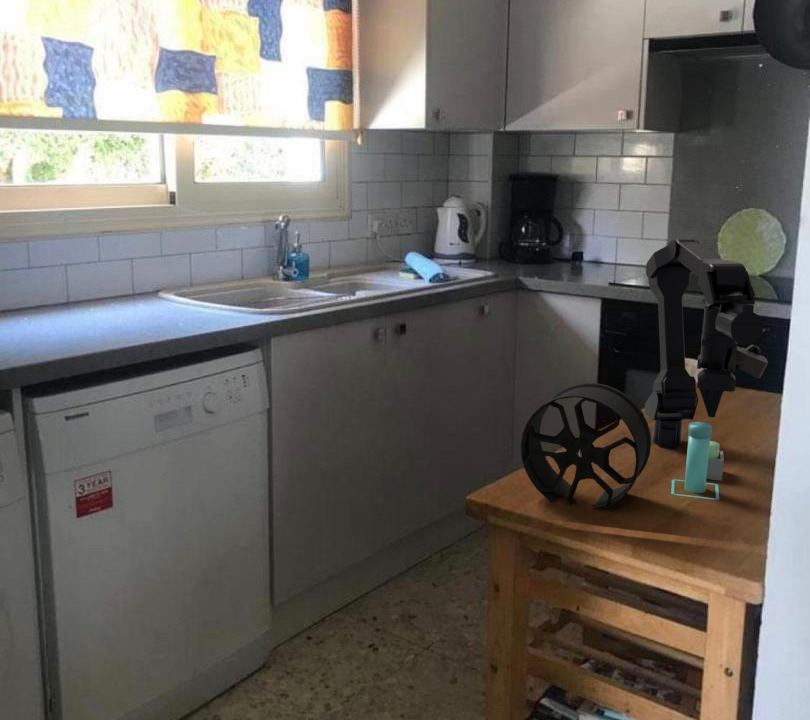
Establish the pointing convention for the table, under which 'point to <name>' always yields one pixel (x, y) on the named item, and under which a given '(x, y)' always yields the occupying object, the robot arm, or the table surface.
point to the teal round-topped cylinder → (697, 457)
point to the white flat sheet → (695, 496)
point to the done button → (714, 450)
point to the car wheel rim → (584, 445)
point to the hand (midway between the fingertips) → (711, 416)
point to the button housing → (715, 467)
